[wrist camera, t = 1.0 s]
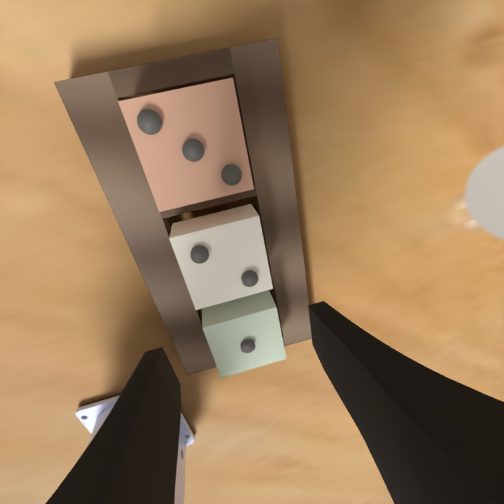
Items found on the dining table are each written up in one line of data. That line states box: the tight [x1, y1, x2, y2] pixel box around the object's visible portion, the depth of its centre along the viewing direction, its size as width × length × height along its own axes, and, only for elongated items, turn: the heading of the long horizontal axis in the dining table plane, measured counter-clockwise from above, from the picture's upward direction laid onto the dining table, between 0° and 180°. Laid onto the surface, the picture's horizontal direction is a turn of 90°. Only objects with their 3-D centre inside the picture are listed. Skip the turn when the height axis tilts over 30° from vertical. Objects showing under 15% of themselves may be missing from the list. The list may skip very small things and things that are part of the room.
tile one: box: [202, 290, 286, 378], centre depth 20 cm, size 5×5×3 cm
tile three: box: [118, 78, 254, 212], centre depth 14 cm, size 5×5×3 cm
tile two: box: [169, 204, 273, 310], centre depth 17 cm, size 5×5×3 cm
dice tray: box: [54, 38, 312, 375], centre depth 19 cm, size 21×11×2 cm, turn 11°
